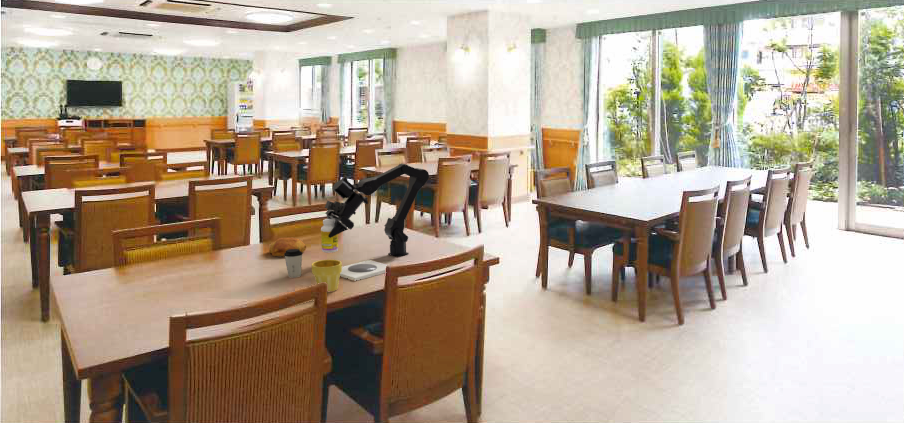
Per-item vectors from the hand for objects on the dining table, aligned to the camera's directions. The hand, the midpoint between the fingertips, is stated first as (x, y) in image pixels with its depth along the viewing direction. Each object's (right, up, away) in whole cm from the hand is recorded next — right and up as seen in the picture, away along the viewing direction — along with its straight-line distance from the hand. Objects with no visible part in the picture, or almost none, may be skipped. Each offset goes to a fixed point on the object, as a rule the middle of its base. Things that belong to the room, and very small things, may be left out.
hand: (326, 235), depth 252 cm
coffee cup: (-10, -15, -13) cm, 22 cm away
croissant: (-22, -9, +22) cm, 32 cm away
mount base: (+16, -14, -8) cm, 22 cm away
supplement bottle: (+1, -7, +2) cm, 7 cm away
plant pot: (+7, -18, -30) cm, 36 cm away
